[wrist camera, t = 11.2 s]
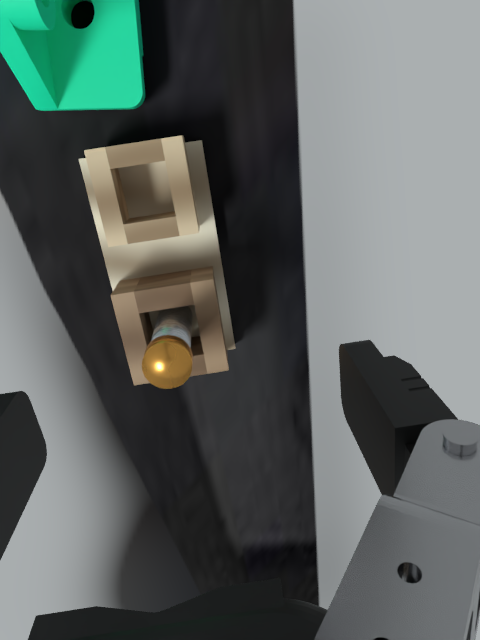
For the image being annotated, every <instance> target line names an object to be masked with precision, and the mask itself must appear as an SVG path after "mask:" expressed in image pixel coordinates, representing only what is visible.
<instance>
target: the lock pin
mask: <svg viewBox="0 0 480 640" xmlns="http://www.w3.org/2000/svg"><path fill="white" fill-rule="evenodd" d="M192 319H193V315H192V311H191V309H190V308H189V306H182V307H176V308H169V309H163V310H160V311H159V314H158V317H157V321H156V325H155V328H154V332H153V335H152V339H151V342H150V343H149V344H148V346H147V348H146V350H145V353H144V357H143V360H142V371H143V374H144V376H145V378H146V379H147V380H148V381H149V382H150V383H151V384H153V385H155V386H157V387H159V388H164V389H170V388H175V387H178V386H180V385H182V384H183V383H185V382H186V381H187V380H188V378H189V377H190V375H191V372H192V361H193V355H192V351H191V334H192Z"/></svg>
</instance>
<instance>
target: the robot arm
mask: <svg viewBox="0 0 480 640" xmlns="http://www.w3.org/2000/svg"><path fill="white" fill-rule="evenodd" d="M339 359H340V360H339V362H340V382H341V399H342V406H343V410H344V414H345V418H346V420H347V423H348V425H349V427H350V429H351V431H352V433H353V435H354V437H355V439H356V441H357V444H358V446H359V448H360V450H361V452H362V454H363V456H364V458H365V460H366V462H367V464H368V467H369V469H370V471H371V473H372V475H373V477H374V479H375V481H376V483H377V485H378V487H379V489H380V492H381V494H382V496H381V498H380V499H379V501H378V503H377V505H376V507H375V509H374V511H373V513H372V516H371V518H370V520H369V522H368V524H367V526H366V529H365V531H364V533H363V535H362V537H361V540H360V542H359V544H358V546H357V548H356V550H355V553H354V555H353V557H352V559H351V561H350V563H349V565H348V568H347V570H346V572H345V574H344V576H343V578H342V581H341V583H340V585H339V587H338V589H337V591H336V594H335V596H334V598H333V600H332V602H331V604H330V606H329V609H328V610H326V609H324V608H322V607H319V606H316V605H314V604H311V603H307V602H303V601H299V600H294V599H286V598H283V593H282V587H281V581H280V578H276V579H269V580H263V581H257V582H250V583H244V584H237V585H231V586H225V587H220V588H217V589H215V590H212V591H210V592H207V593H205V594H202V595H200V596H198V597H195V598H193V599H190V600H188V601H185V602H183V603H181V604H178V605H176V606H173V607H171V608H169V609H166V610H163V611H160V612H155V613H153V612H151V613H150V612H142V611H132V610H124V609H115V608H105V607H97V606H96V607H90V608H84V609H77V610H71V611H64V612H58V613H51V614H45V615H38V616H36V618H35V621H34V623H33V626H32V629H31V632H30V635H29V638H28V640H475V638H476V633H477V627H478V621H479V616H480V425H478V424H475V423H472V422H468V421H463V420H458V419H457V418H456V417H455V415H454V414H453V413H452V412H451V411H450V409H449V408H448V407H447V406H446V405H445V404H444V403H443V401H442V400H441V399H440V398H439V397H438V395H437V394H436V393H435V392H434V391H433V390H432V389H431V388H430V387H429V385H428V384H427V383H426V381H425V380H424V379H422V378H421V376H420V374H419V373H418V372H417V371H416V370H415V369H414V368H413V366H412V365H411V364H409V363H407V362H405V361H404V360H402V359H400V358H398V357H396V356H388V357H383V356H382V354H381V353H380V352H379V351H378V349H377V348H376V347H375V345H374V344H373V343H372V342H371V341H370V340H366V341H359V342H352V343H345V344H341V345H340V347H339ZM46 456H47V450H46V443H45V439H44V437H43V434H42V431H41V429H40V426H39V424H38V421H37V418H36V415H35V413H34V410H33V407H32V404H31V402H30V400H29V397H28V395H27V394H26V393H25V392H23V391H19V392H12V393H5V394H0V560H1V558H2V556H3V553H4V551H5V549H6V547H7V545H8V543H9V541H10V538H11V536H12V534H13V532H14V530H15V528H16V526H17V523H18V521H19V519H20V517H21V515H22V512H23V511H24V509H25V506H26V504H27V502H28V500H29V498H30V495H31V494H32V491H33V489H34V487H35V485H36V483H37V481H38V479H39V476H40V474H41V472H42V470H43V468H44V466H45V462H46Z"/></svg>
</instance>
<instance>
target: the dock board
mask: <svg viewBox="0 0 480 640" xmlns="http://www.w3.org/2000/svg"><path fill="white" fill-rule="evenodd" d="M84 153H85V157H86V158H82V159H79V162H80V166H81V170H82V174H83V178H84V182H85V186H86V190H87V193H88V197H89V201H90V205H91V209H92V213H93V217H94V221H95V224H96V228H97V232H98V236H99V240H100V244H101V248H102V251H103V255H104V259H105V263H106V267H107V271H108V275H109V279H110V282H111V286H112V290H113V292H112V294H111V299H112V303H113V307H114V310H115V314H116V318H117V322H118V326H119V330H120V333H121V337H122V341H123V345H124V349H125V353H126V356H127V360H128V364H129V368H130V372H131V376H132V379H133V383H134V385H139V384H146V383H150V382H149V381H148V380H147V379H146V378H145V376H144V374H143V371H142V360H143V357H144V353H145V350H146V348H147V346H148V344H149V343H150V342H151V339H152V335H153V332H154V328H155V325H156V321H157V317H158V314H159V311H160V310H163V309H169V308H176V307H182V306H189V308H190V309H191V311H192V315H193V319H192V334H191V351H192V355H193V361H192V372H191V375H190V376H196V375H202V374H208V373H215V372H221V371H227V370H229V368H228V357H227V350H230V349H235V342H234V336H233V330H232V324H231V317H230V311H229V305H228V299H227V293H226V287H225V280H224V274H223V268H222V262H221V256H220V249H219V243H218V237H217V231H216V225H215V219H214V212H213V206H212V200H211V194H210V188H209V181H208V175H207V169H206V163H205V157H204V151H203V144H202V140H199V141H193V142H186V143H185V140H184V136H183V135H181V136H174V137H168V138H161V139H155V140H148V141H142V142H135V143H129V144H122V145H116V146H109V147H103V148H96V149H90V150H84Z"/></svg>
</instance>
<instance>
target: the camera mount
mask: <svg viewBox="0 0 480 640" xmlns="http://www.w3.org/2000/svg"><path fill="white" fill-rule="evenodd" d="M81 1H88V2H91V3H93V6H94V12H95V13H94V19H93V21H92V23H91V24H90V25H89V26H88V27H86V28H84V29H77V28H74V26H73V24H72V20H71V13H72V10H73V8H74V6H75V5H76V4H77V3H79V2H81ZM0 52H1V53H2V55H3V57H4V58H5V60H6V61H7V63H8V65H9V66H10V68H11V70H12V71H13V73H14V74H15V76H16V78H17V79H18V81H19V83H20V84H21V86H22V87H23V89H24V91H25V92H26V94H27V96H28V97H29V99H30V100H31V102H32V104H33V105H34V107H35V109H37V110H42V111H54V110H110V109H136V108H138V107H140V106H141V105H142V103H143V102H144V99H145V84H144V73H143V61H142V56H143V44H142V32H141V21H140V9H139V0H0Z"/></svg>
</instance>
